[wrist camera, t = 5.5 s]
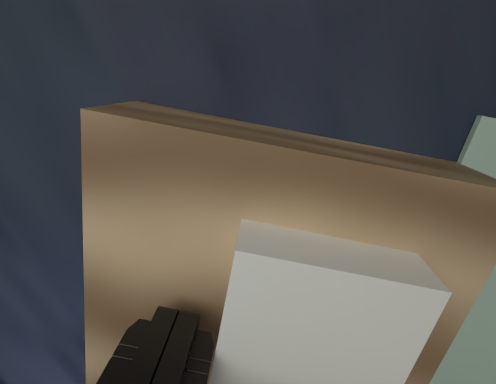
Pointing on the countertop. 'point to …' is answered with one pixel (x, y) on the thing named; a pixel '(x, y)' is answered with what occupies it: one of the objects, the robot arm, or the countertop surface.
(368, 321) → the pale grey rectangular block
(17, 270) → the countertop surface
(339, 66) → the countertop surface
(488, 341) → the mat
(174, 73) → the countertop surface
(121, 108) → the board
